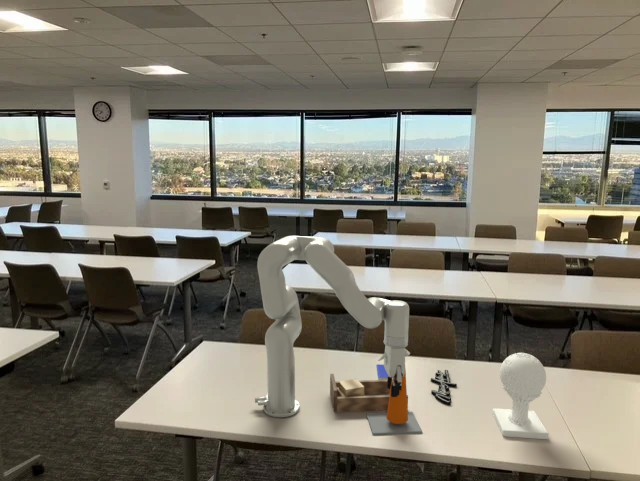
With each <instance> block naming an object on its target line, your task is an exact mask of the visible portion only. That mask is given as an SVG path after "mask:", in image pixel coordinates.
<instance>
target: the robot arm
mask: <svg viewBox="0 0 640 481" xmlns="http://www.w3.org/2000/svg"><path fill="white" fill-rule="evenodd" d="M297 260H298V261H305V262H306V263H307V264H308V266H310V268H311V269H313V270H314V272H315V273H316V274H317V275H319V276H320V278H321V279H323V280H324V282H325V283H327V284H328V285H329V287H330V288H331V289H332V291H333V292H334V294H335V295H336V297H337V298H338V300H339V301H340V303H341V305H342V306H343V308H344V309H345V310H346V311H347V313H349V315H351V316H352V317H353V318H354V320H356V322H358V323H359V324H360V325H361V326H363V327H364V328H366V329H375V328H378V327H379V326H380V325H382V324H381V323H382V322H383V321H384V332H383V333H384V335H383V336H384V337H383V338H384V339H383V341H384V343H383V344H384V345H385V347H384V352H385V351H386V358H384V359H383V365H384V368H385V370H386V372H387V374H388V380H387V388H388V389H390V388H391V397H397V396H398V395H399V390H401V385H402V377H404V374H405V370H406V357H405V349H406V347H408V345H409V344H408V343H409V322H410V321H409V320H410V319H409V318H410V306H409V304H408V303H407V302H406V301H403V300H397V299H396V300H395V299H394V300H389V299H386V298H381V297H375V296H374V297H369V298H367V297H366V296H365V295H364V293H362V290H361V289H360V287H359V286H358V285H357V282H356V279H355V274H354V272H353V271H352V270H351V268H350V267H349V266H347V264H346V263H345V262H344V261H342V260H341V258H339V256H337V254H336V253H335V246H334V244H333V243H332V242H331V240H330V239H328V238H326V237H322V236H321V237H320V236H300V235H287V236H284V237H281V238H280V239H278V240H275V241H273V242H272V243H270V244H268V245H267V246H266V247H265V248H263V250H261V252H260V254H259V255H258V258H257V264H256V265H257V266H256V268H257V274H258V278H259V287H260V294H261V298H262V306H263V307H262V308H263V311H264V313H265V315H266V316H267V317H268V318H269V319H272V320H275V321H274V322H273V323H272V324H271V325H270V326H269V327H268V328H267V329H266V332H265V334H264V335H265V336H264V345H265V350H266V368H267V371H266V372H267V376H266V378H267V393H266V395H263V396H254V403H255V404H257V406H262V407H263V409H262V410H263V412H264V413H265V414H266V415H267V416H269V417H272V418H273V417H274V418H288V417H292V416H294V415H295V414H297V413H298V412H299V411H300V402H299V401H298V400H296V359H295V358H296V356H295V351H294V343H295V341H296V339H298V338H299V335H300V334H301V333H302V329H303V328H302V327H303V326H302V324H303V323H302V317H301V310H300V304H299V302H300V301H299V298H298V295H297V292H296V290H295V289H294V288H293V287H292V286H290V285H288V284H286V277H285V274H284V271H283V268H284V266H287V265H289V263H291V262H294V261H297ZM401 372H402V373H401ZM395 374H397V375H395ZM395 378H397V380H395ZM391 381H392V385H391Z"/></svg>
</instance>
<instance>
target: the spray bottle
mask: <svg viewBox="0 0 640 481" xmlns="http://www.w3.org/2000/svg"><path fill="white" fill-rule="evenodd" d="M382 343H383V344H384V340H383V342H382ZM410 354H411V352H410V351H408V349H406V348H405V358H406V357H409V356H410ZM384 358H386V351H385V350H384V353H383V355H382V356H381V357H380V358H379V359H377V361H378V362H380V361H384ZM406 372H407V371H406V369H405V374H404V377H402V385H401V390H399V395H398V396H397V397H391V388H390V394H388V395H389V402H388V410H386V413H387V417H386V418H387V420H388V421H390V422H392V423H394V424H403V423H406V422H407V421H408V412H409V411H408V408H409V407H408V408H407V395H408V394H407V393H408V392H407V378H406V377H407V376H406V375H407V374H406ZM401 373H402V372H401ZM395 375H397V374H395ZM395 380H397V378H395ZM391 385H392V381H391Z"/></svg>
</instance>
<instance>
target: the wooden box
mask: <svg viewBox="0 0 640 481" xmlns="http://www.w3.org/2000/svg"><path fill="white" fill-rule="evenodd" d="M329 378H330V379H329V389H330V390H329V395H330V401H331V406H332V410H333V413H346V412H377V411H381V412H382V411H387V410H388V402H389V395H390V389H388V388H387V380H378V379H369V380H366V379H365V380H358V381H359V382H360V383H361V384H362V385H363V386H364V396H348V397H337V388H339V381H340V380H336V378H335V374H334V373H329ZM408 406H409V395H408V394H407V408H409V407H408Z"/></svg>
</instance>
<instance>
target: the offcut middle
mask: <svg viewBox="0 0 640 481" xmlns="http://www.w3.org/2000/svg"><path fill="white" fill-rule="evenodd" d="M337 396H338V397H348V396H345V395H344V394H343V392H342V391H341V390H340V389H339V388H337ZM352 396H365V394H358V395H352Z"/></svg>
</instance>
